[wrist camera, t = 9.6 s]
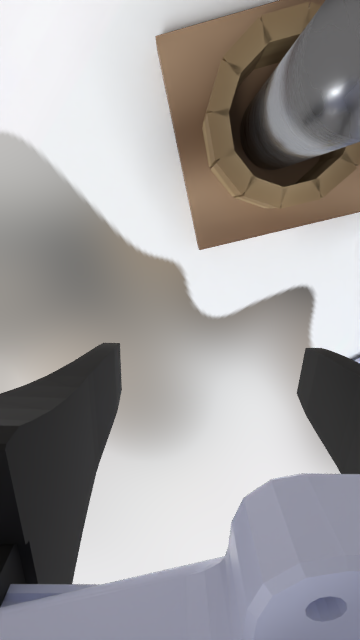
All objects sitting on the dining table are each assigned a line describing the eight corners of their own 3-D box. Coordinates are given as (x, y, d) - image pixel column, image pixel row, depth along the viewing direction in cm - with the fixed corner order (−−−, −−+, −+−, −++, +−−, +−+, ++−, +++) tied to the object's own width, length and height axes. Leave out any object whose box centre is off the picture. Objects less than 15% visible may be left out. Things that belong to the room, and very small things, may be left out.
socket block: (364, 208, 20) (409, 208, 16) (198, 247, 20) (203, 256, 17) (360, -11, 16) (418, -79, 12) (156, 47, 16) (151, 1, 13)
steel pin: (323, 142, 17) (464, 82, 9) (260, 184, 18) (335, 166, 9) (292, 69, 16) (423, -83, 7) (226, 117, 17) (278, 29, 8)
